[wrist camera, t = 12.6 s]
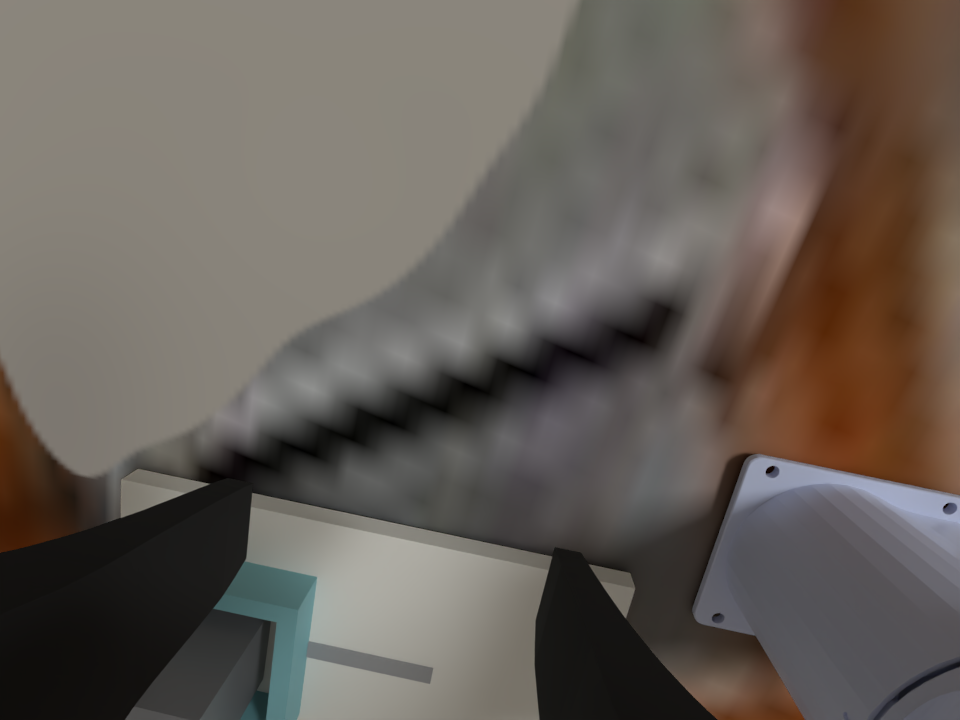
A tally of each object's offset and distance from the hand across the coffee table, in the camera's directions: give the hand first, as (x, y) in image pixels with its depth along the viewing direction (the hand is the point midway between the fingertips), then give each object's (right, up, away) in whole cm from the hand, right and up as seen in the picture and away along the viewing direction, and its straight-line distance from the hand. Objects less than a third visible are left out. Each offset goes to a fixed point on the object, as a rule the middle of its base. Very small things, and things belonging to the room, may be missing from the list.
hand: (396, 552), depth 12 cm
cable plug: (-10, -8, +11) cm, 17 cm away
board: (-4, -9, +12) cm, 15 cm away
